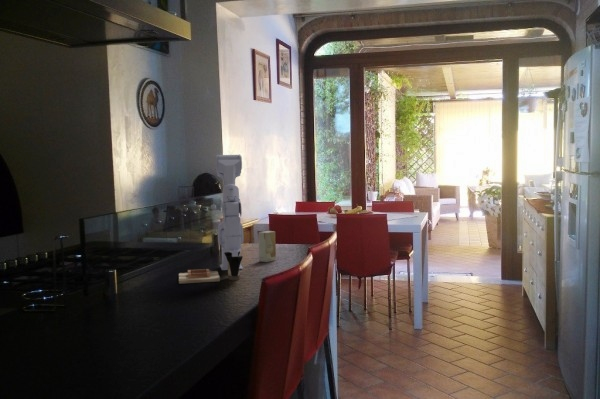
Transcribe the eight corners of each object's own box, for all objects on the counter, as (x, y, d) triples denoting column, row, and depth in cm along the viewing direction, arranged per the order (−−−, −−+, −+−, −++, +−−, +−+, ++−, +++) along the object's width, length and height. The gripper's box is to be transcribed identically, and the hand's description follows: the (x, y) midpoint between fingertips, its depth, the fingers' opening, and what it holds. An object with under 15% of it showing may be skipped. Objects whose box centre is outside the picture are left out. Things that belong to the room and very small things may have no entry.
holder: (178, 275, 214) (178, 269, 214) (217, 273, 217) (217, 266, 217) (179, 283, 200) (178, 276, 200) (220, 281, 203) (219, 274, 203)
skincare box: (266, 262, 238) (265, 232, 237) (258, 261, 240) (257, 232, 240) (276, 260, 243) (275, 231, 242) (268, 259, 246) (267, 230, 245)
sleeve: (227, 278, 208) (227, 259, 207) (239, 277, 208) (238, 258, 208) (228, 280, 204) (228, 260, 203) (240, 280, 204) (239, 260, 204)
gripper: (219, 233, 211) (220, 270, 212) (222, 238, 197) (223, 278, 198) (239, 232, 213) (240, 269, 214) (243, 237, 198) (244, 277, 199)
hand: (233, 273), depth 206 cm, fingers open, 7 cm apart
